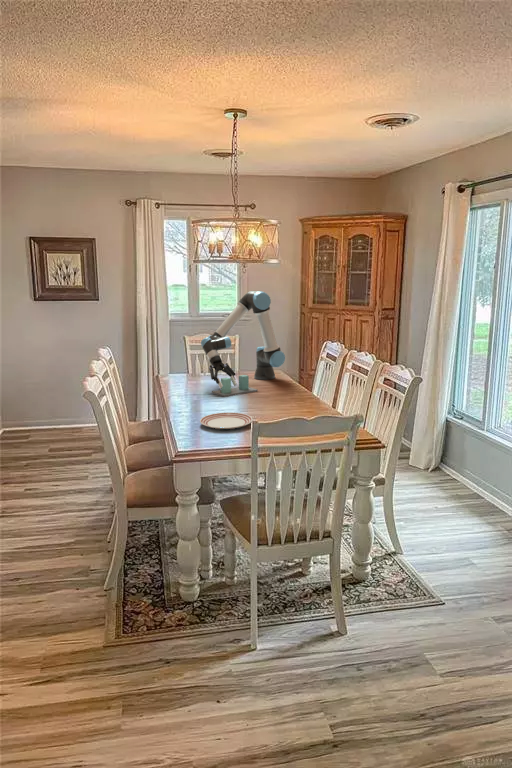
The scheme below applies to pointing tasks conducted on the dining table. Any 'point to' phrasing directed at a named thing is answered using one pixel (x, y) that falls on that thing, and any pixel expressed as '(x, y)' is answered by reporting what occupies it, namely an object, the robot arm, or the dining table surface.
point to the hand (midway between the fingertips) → (228, 386)
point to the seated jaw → (243, 382)
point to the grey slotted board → (235, 392)
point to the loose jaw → (226, 385)
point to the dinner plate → (226, 420)
